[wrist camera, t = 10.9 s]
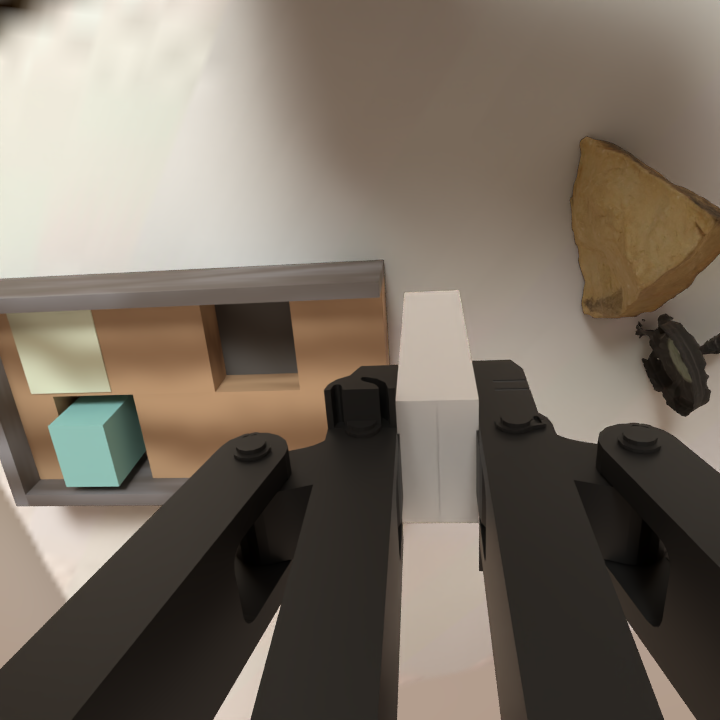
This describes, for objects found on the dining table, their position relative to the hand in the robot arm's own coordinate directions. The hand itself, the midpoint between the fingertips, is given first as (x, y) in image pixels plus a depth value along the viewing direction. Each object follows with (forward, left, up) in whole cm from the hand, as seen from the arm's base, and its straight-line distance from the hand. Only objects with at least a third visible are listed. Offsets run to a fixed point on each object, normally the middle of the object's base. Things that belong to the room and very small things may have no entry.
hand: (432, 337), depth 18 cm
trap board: (+12, -17, -24) cm, 32 cm away
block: (+16, -23, -22) cm, 35 cm away
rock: (+3, +11, -25) cm, 27 cm away
